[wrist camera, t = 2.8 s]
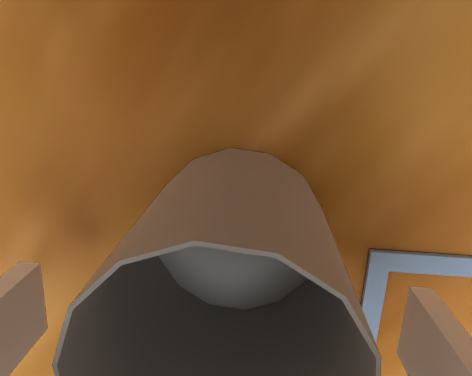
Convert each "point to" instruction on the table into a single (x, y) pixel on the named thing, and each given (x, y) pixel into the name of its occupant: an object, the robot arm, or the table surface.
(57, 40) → the table surface
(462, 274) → the marked square
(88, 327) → the cup
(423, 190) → the table surface
